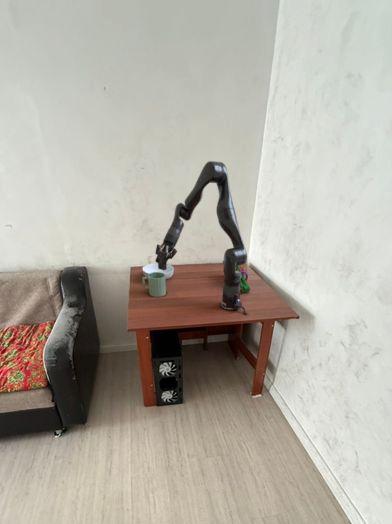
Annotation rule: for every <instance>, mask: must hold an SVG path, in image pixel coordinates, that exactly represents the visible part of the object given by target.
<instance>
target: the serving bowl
mask: <svg viewBox="0 0 392 524" xmlns="http://www.w3.org/2000/svg"><path fill="white" fill-rule="evenodd" d="M166 264H167V269H166V270H161V269H158V263H157V262H155V263H153V262H152V263H148V264H146V265H144V266H142V273H143V276H144V277H148V274H150V273H153V272H161V273H164V274H165V278H166V280H168V279H170V278H171V277H173V275H174V272H175V268H174V266H173V265H170V264H168V263H166Z"/></svg>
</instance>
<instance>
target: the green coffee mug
mask: <svg viewBox="0 0 392 524" xmlns="http://www.w3.org/2000/svg"><path fill="white" fill-rule="evenodd" d="M145 280H147V282H148V283H147V284H148V286H146V281H145ZM166 281H167V279H166V278H165V274H164V273H161V272H153V273H150V274H148V277H146V276H142V288H143V289H144V290H148V295H149V296H151V297H154V298H160V297H164V296H165V295H166V294H167V282H166Z"/></svg>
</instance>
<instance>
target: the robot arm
mask: <svg viewBox="0 0 392 524" xmlns="http://www.w3.org/2000/svg"><path fill="white" fill-rule="evenodd" d="M229 181H230V180H229V173H228V169H227V166H226V164H225V163H224V162H222V161H217V160H216V161H215V160H208V161H207V162H205V164H204V166H203V167H202V169H201V171H200V174H199V176H198V177H197V179H196V182H195V184H194V186H193V188H192V189H191V191H190V192H189V193H188V195H187V196H186V198H185V199H184V203H183V202H178V203H177V204H176V206H175V208H174V213H173V214H174V215H173V218H172V219H173V220H172V221H171V224H170V226H169V228H168V229H167V231H166V234H165V235H164V238H163V240H162V243H161V244H159V243H158V244H156V248H155V255H156V258H155V263H158V253H157V252H158V251H163V252H166V256H165V258H164V260H163V262H162V264H163V265H165V264H168V261H169V260H172V259H173V258H174V257H175V255H176V254H177V253H178V250H177V249H176V248H175V247H176V246H177V243H178V241H179V239H180V237H181V234H182V232H183V230H184V228H185V222H188V221H190V220H191V219H192V217H193V216H194V215H193V214H194V211H195V209H196V208H197V206H198V205H199V204H200V203H201V201H202V199H203V196H204V189H205V188H206V187H207V186H208V185H209V184H216V187H217V192H218V199H217V203H216V209H215V212H216V213H215V214H216V216H217V220H218V224H219V227H220V228H221V229H222V231H223V232H224V234H226V235H227V236H228V238H229V239H230V241H231V244H232V247H230V248H227V249H226V250H225V251H224V254H223V260H224V264H223V268H222V269H223V283H222V284H223V285H222V294H221V295H222V296H221V301H220V302H221V305H220V307H222V309H223V310H227V311H236V310H238V311H239V310H240V309H242V310H243V314H244V315H248V313H247V312H246V308H245V307H244V306H242V305H243V302H242V301H240V299H241V292H242V290H241V288H240V283H241V273H240V272H239V271H236V270H235V266H239V265H240V266H243V264H244V265H245V264H247V263H246V261H247V262H248V253H247V249H246V246H245V243H244V240H243V238H242V234H241V230H240V227H239V223H238V219H237V213H236V210H235V205H234V202H233V198H232V193H231V188H230V182H229ZM184 221H185V222H184Z"/></svg>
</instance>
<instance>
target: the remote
mask: <svg viewBox="0 0 392 524" xmlns="http://www.w3.org/2000/svg"><path fill="white" fill-rule="evenodd" d="M157 253H158V269H161V270H166V269H167V264H168V263H166V264H165V265H163V264H162V262H163V260H164V258H165V256H166V252H163V251H158V252H157Z"/></svg>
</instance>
